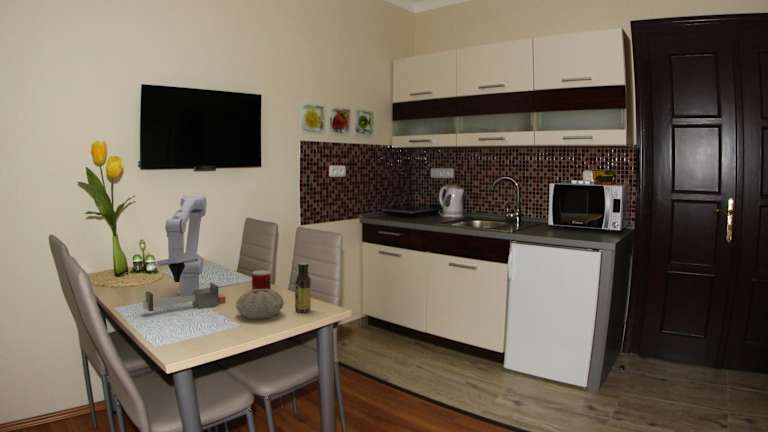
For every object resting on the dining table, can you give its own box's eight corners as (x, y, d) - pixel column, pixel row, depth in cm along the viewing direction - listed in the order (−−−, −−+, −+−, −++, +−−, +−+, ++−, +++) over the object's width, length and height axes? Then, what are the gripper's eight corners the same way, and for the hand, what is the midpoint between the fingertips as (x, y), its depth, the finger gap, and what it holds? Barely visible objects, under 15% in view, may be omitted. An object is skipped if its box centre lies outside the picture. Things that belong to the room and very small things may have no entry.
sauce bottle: (295, 308, 197) (296, 261, 195) (311, 308, 198) (311, 261, 195) (294, 313, 191) (294, 264, 188) (310, 313, 191) (310, 264, 189)
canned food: (267, 299, 209) (267, 274, 208) (249, 298, 209) (249, 273, 208) (272, 294, 216) (272, 270, 215) (255, 293, 217) (255, 269, 216)
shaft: (142, 308, 185) (141, 292, 184) (202, 299, 200) (202, 283, 199) (145, 312, 181) (145, 295, 180) (206, 301, 196) (206, 286, 195)
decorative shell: (227, 315, 187) (227, 290, 185) (265, 305, 200) (265, 282, 199) (254, 326, 175) (254, 300, 174) (293, 315, 189) (293, 290, 188)
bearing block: (192, 304, 199) (192, 285, 198) (212, 301, 204) (211, 282, 203) (199, 308, 193) (198, 288, 192) (218, 305, 199) (218, 285, 198)
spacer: (215, 295, 203) (221, 294, 205) (215, 302, 203) (221, 301, 205) (219, 297, 200) (225, 296, 202) (219, 304, 200) (225, 303, 202)
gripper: (159, 251, 185) (160, 286, 186) (198, 248, 194) (198, 281, 196) (154, 249, 190) (155, 282, 191) (191, 245, 199) (192, 277, 201)
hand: (176, 281), depth 194 cm, fingers closed
